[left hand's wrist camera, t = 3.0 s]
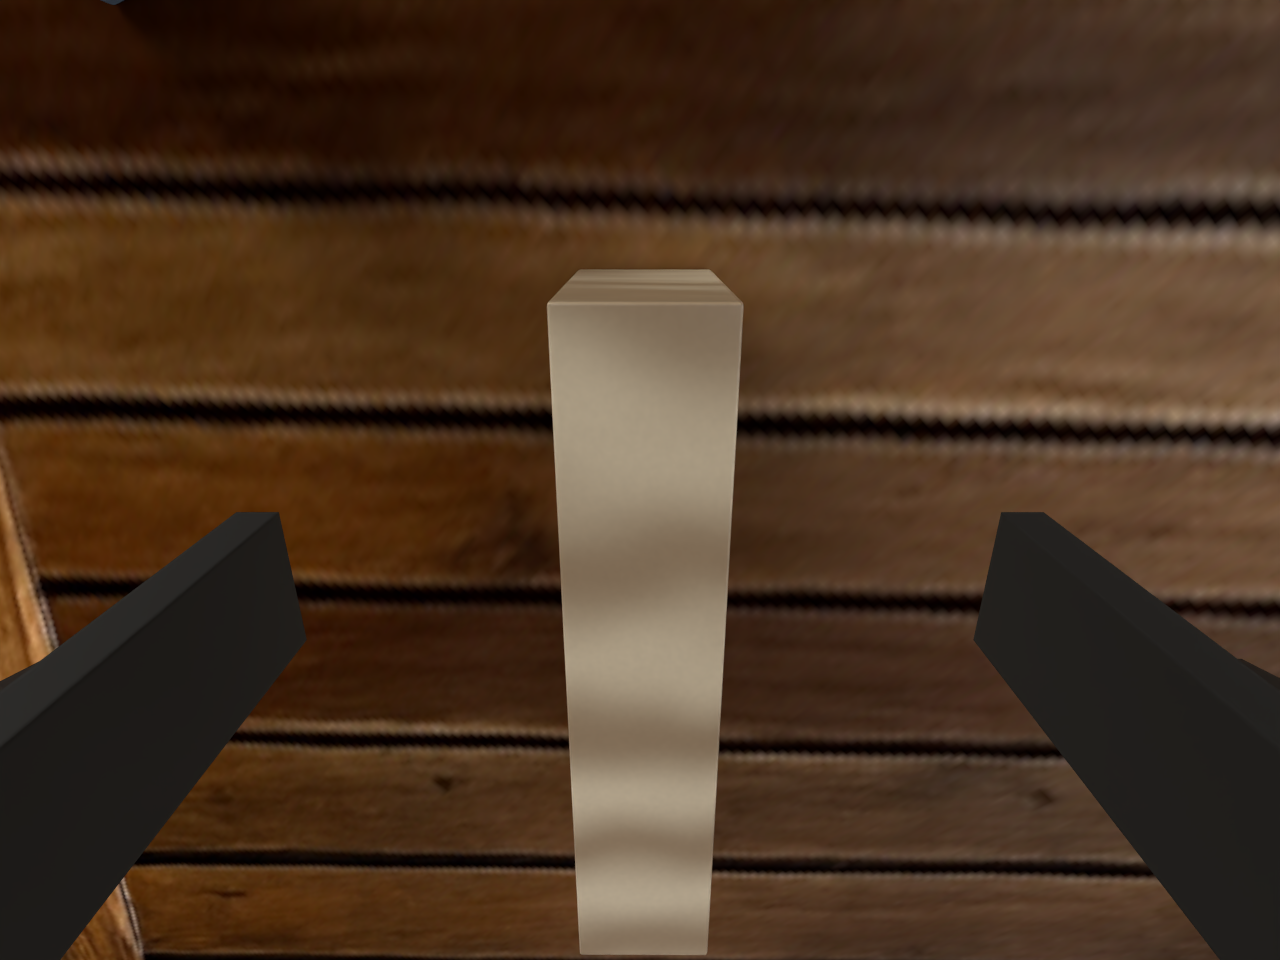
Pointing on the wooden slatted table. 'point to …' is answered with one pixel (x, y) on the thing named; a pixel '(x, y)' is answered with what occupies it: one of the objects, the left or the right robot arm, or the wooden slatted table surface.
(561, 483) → the ash bar
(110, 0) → the slate blue block
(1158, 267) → the wooden slatted table surface
